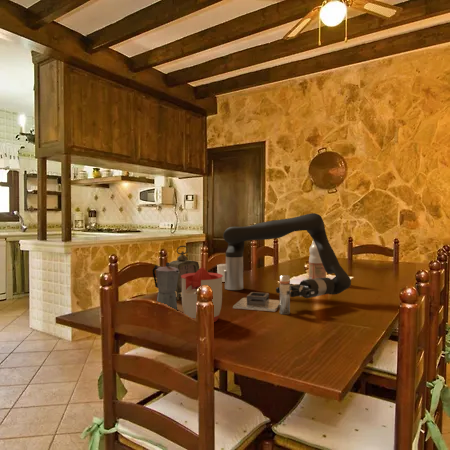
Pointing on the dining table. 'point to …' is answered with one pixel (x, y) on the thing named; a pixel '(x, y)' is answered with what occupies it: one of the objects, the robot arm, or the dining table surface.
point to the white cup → (221, 270)
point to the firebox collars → (257, 302)
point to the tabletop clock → (183, 268)
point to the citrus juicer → (193, 283)
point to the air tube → (284, 294)
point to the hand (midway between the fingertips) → (283, 292)
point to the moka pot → (166, 284)
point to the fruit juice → (315, 263)
